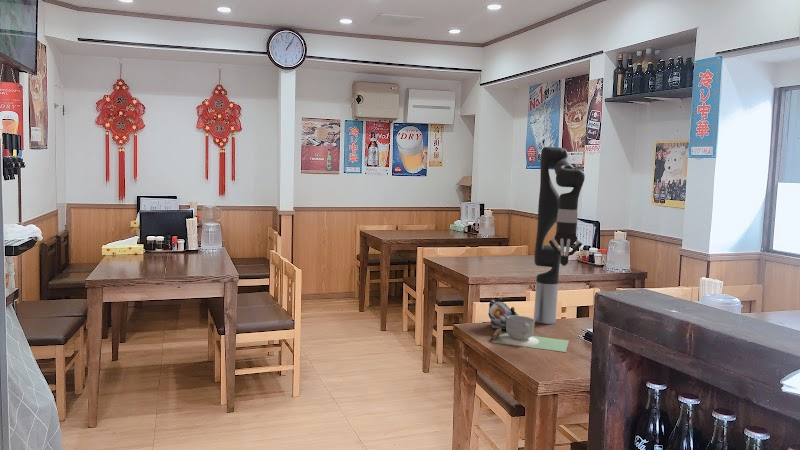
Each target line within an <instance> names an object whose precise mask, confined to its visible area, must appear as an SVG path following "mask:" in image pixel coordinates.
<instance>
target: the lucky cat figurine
mask: <svg viewBox="0 0 800 450" xmlns="http://www.w3.org/2000/svg"><path fill="white" fill-rule="evenodd" d="M488 307H489V308H488V318H489V319H490V325H491V328H492V329H498V328H499V327H501V328H502V330H506V322H507V316H511V315H515V316H520V315H519V314H518V313H517V312H516V311H515V307H514V306H512V307H511V308H510V307H509V306H508V305H507V303H505V302H503V301H496V300H495V299H491V300H489V305H488Z"/></svg>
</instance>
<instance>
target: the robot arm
mask: <svg viewBox="0 0 800 450" xmlns="http://www.w3.org/2000/svg"><path fill="white" fill-rule="evenodd" d="M570 159H571V158H570V156H569V153H568V151H567V149H566V148H564V147H554V146H544V147H543V148H542V150H541V153H540V184H539V196H538V205H537V206H538V207H537V209H538V210H537V228H536V229H537V231H536V237H535V238H536V240H535V248H534V264H535V265H536V266H537V267H543V268H544V267H546V268H548V267H549V268H550V270H548V271H545V272H542V273H538V274H537V275H536V280H535V281H536V283H535V297H534V308H533V310H534V311H533V312H534V313H533V319H534V320H535V323H540V324H545V325H546V324H547V325H551V324H556V319H557V318H556V317H557V307H558V306H557V305H558V291H559V288H558V287H559V276H560V275H559V274H560V265H561V267H562V266H565V267H566V266H567V265H568V264H569V257H570V256H573V255H574V254H575V253H576V252H577V251H578V250H579V249H580V248H581V247H582V246H583V242H580V240H578V237H577V232H578V231H577V230H578V229H577V228H578V206H579V199H580V198H579V197H580V194H581V191H582V187H583V184H584V183H585V180H586V179H585V177H586V175H585V173H584V171H583V170H582V169H579V168H575V167H574V166H573V164H572V163H571V160H570ZM550 169H551V170H554V173H555V175H556V176H555V182H556V184H557V186H559V187H561V188H572V189H571V191H569V192H564V193H561V194H559V192H558V191H557V189H556V187H555V186H554V183H553V182H552V180H551V176H550V171H549V170H550ZM555 224H556V230H555V231H556V232H555V235H554V237H553V238H552V239H550V240H549V241H548V243H549V244H544V241H545V238H546V237H547V235H548V233H549V231H550V230H552V227H553V226H554V225H555ZM556 243H557V244H558V245H556ZM574 244H575V246H574V248H573V249H572V250H571V251H570V248H572V246H573V245H574Z"/></svg>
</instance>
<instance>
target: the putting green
mask: <svg viewBox="0 0 800 450" xmlns="http://www.w3.org/2000/svg"><path fill="white" fill-rule="evenodd" d="M502 330H503V329H502V328H501V327H499V328H496V329H495V332H494V333H493V335H492V341H491V343H493V342H494V343H493V344H500V345H508V346H515V347H524V348H530V349H531V348H533V349H538V350H545V351H555V352H561V353H566V352H567V350H568V349H567V348H568V347H569V346H568V345H569V343H570V342H569V341H570V340H569V339H561V338H560V339H559V338H551V337H546V336H545V337H544V336H537V335H536V336H535V335H532V336H531V337H530V338H528V339H527V340H517V339H513V338H511V337H510V336H509V335H508V334H507V332H505V331H502Z"/></svg>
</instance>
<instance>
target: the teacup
mask: <svg viewBox="0 0 800 450" xmlns="http://www.w3.org/2000/svg"><path fill="white" fill-rule="evenodd" d="M535 323H536V322H535V320H534V318H531V317H528V316H523V315H519V316H515V315H511V316H507V322H506V329H505V330H506V333H507V334H508V335H509V336H510V337H511V338H513V339H517V340H527V339H528V338H530V337H531V336H534V331H535V330H534V329H535Z"/></svg>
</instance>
